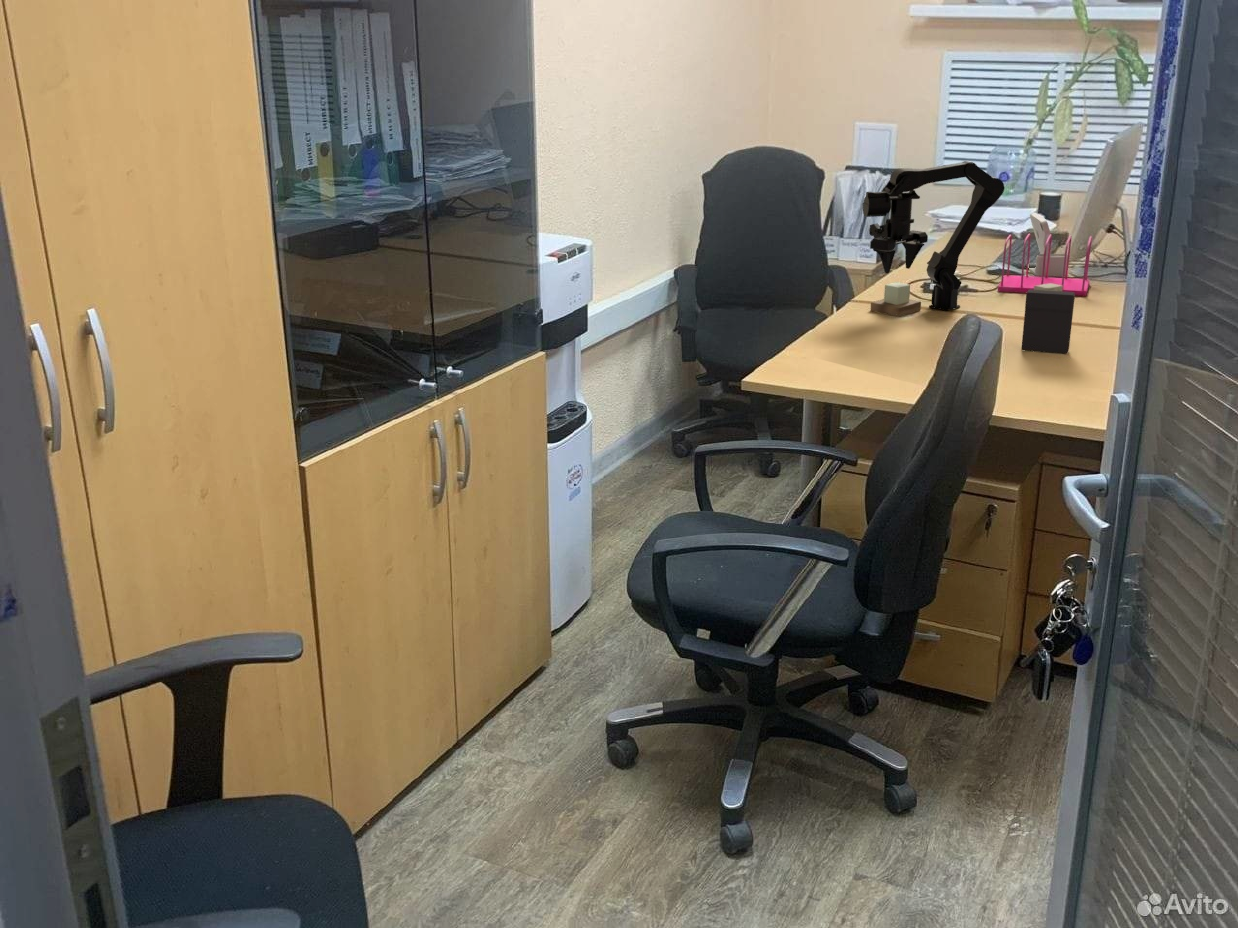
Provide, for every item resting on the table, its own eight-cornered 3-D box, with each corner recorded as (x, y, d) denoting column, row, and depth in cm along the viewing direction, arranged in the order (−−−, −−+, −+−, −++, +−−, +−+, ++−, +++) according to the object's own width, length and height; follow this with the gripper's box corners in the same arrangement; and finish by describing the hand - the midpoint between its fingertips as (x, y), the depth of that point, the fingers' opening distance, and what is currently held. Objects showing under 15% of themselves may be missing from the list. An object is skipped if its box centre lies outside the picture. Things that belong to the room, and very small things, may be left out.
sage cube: (909, 302, 329) (910, 284, 327) (897, 304, 326) (898, 287, 325) (895, 299, 333) (896, 282, 331) (883, 301, 330) (884, 284, 328)
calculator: (1068, 350, 287) (1075, 291, 281) (1067, 355, 283) (1074, 295, 278) (1022, 347, 291) (1028, 288, 286) (1020, 351, 287) (1026, 292, 282)
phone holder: (1069, 276, 364) (1075, 219, 357) (1036, 277, 365) (1041, 220, 358) (1054, 265, 380) (1060, 210, 373) (1023, 266, 381) (1028, 211, 374)
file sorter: (1085, 297, 338) (1091, 244, 332) (997, 292, 348) (1001, 240, 342) (1089, 284, 353) (1095, 233, 347) (1004, 280, 363) (1008, 230, 357)
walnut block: (920, 311, 330) (921, 301, 329) (898, 318, 324) (899, 307, 323) (892, 306, 337) (892, 296, 336) (870, 312, 331) (870, 302, 330)
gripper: (898, 208, 332) (895, 262, 338) (856, 216, 321) (853, 271, 327) (930, 212, 324) (926, 267, 329) (887, 220, 313) (884, 277, 319)
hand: (897, 270), depth 326 cm, fingers open, 9 cm apart
